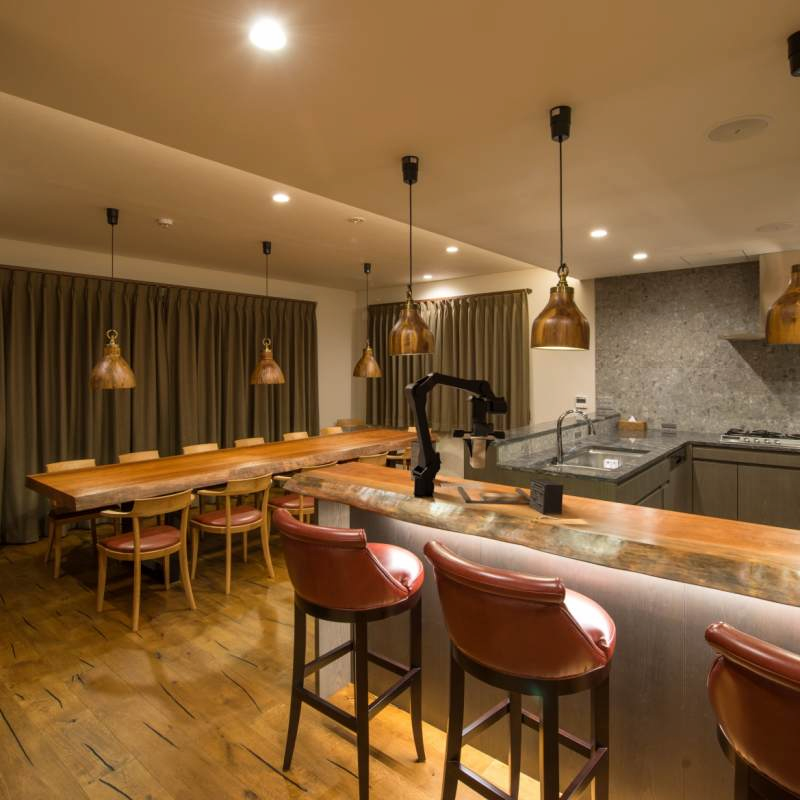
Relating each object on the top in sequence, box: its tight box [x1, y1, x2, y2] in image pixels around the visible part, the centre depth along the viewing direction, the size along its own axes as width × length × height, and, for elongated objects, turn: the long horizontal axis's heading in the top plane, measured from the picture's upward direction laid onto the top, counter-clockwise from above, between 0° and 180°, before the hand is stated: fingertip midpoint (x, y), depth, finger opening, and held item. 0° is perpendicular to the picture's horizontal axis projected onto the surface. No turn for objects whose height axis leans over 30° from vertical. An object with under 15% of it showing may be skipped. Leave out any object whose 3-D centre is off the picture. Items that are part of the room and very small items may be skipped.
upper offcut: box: [479, 492, 521, 502], centre depth 170 cm, size 12×5×2 cm, turn 97°
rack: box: [456, 486, 530, 505], centre depth 176 cm, size 22×21×2 cm
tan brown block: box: [469, 436, 486, 469], centre depth 188 cm, size 4×10×10 cm, turn 0°
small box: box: [529, 477, 564, 518], centre depth 158 cm, size 11×6×10 cm, turn 9°
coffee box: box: [410, 439, 437, 480], centre depth 213 cm, size 9×6×16 cm
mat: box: [439, 482, 485, 490], centre depth 196 cm, size 16×14×1 cm
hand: (477, 457), depth 188 cm, fingers closed on tan brown block, 4 cm apart
